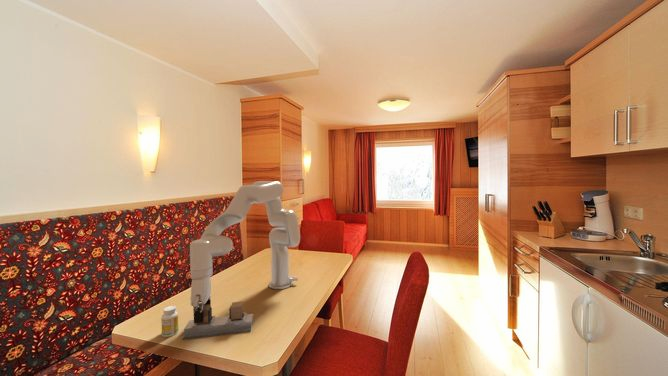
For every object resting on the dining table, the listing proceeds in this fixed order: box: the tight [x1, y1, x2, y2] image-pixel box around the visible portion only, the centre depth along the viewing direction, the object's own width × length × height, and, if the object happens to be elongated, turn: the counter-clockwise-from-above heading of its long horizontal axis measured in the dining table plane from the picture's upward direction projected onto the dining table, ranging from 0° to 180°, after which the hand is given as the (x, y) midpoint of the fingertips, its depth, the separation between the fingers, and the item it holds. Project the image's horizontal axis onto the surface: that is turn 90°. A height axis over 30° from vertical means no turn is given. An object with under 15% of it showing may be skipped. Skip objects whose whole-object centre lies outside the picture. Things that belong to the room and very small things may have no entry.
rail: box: [181, 301, 255, 341], centre depth 101 cm, size 24×10×9 cm, turn 102°
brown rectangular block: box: [196, 304, 213, 325], centre depth 100 cm, size 5×4×6 cm
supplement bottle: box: [161, 305, 179, 338], centre depth 98 cm, size 5×5×10 cm
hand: (202, 315), depth 100 cm, fingers open, 9 cm apart
